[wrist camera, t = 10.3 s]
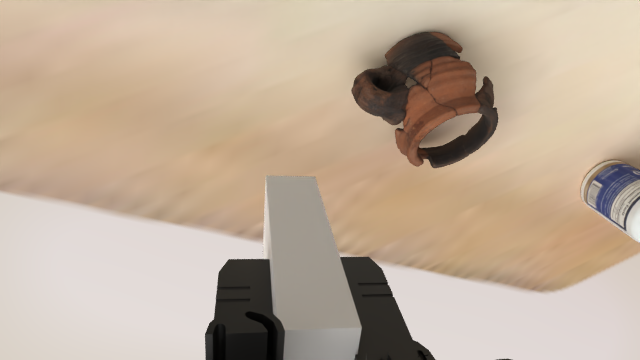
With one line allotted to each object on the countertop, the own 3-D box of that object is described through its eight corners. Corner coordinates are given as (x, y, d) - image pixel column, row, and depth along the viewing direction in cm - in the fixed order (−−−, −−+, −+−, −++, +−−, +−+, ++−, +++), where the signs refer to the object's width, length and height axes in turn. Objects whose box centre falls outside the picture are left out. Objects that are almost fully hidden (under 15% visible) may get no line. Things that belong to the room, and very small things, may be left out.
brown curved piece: (482, 28, 38) (535, 97, 34) (427, 110, 45) (465, 177, 40) (353, 11, 33) (395, 89, 29) (314, 107, 40) (343, 182, 36)
